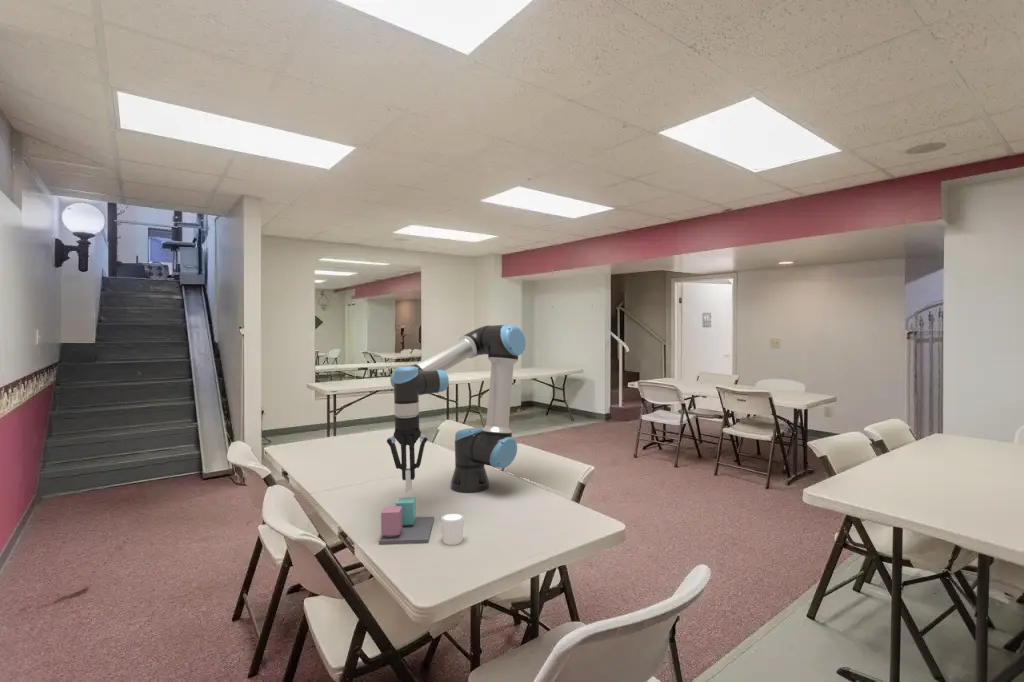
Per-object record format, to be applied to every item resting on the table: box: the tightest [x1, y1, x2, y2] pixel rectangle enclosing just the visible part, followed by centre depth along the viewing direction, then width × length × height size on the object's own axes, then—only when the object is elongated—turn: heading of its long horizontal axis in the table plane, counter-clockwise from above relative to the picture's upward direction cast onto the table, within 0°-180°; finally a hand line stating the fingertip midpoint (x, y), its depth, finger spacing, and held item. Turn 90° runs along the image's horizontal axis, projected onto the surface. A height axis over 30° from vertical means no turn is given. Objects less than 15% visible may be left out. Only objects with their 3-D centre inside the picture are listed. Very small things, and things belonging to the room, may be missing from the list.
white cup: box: [440, 512, 465, 546], centre depth 140 cm, size 7×7×7 cm
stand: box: [378, 505, 435, 546], centre depth 147 cm, size 14×18×9 cm
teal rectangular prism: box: [395, 496, 417, 525], centre depth 149 cm, size 5×5×7 cm
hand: (408, 489), depth 152 cm, fingers closed
